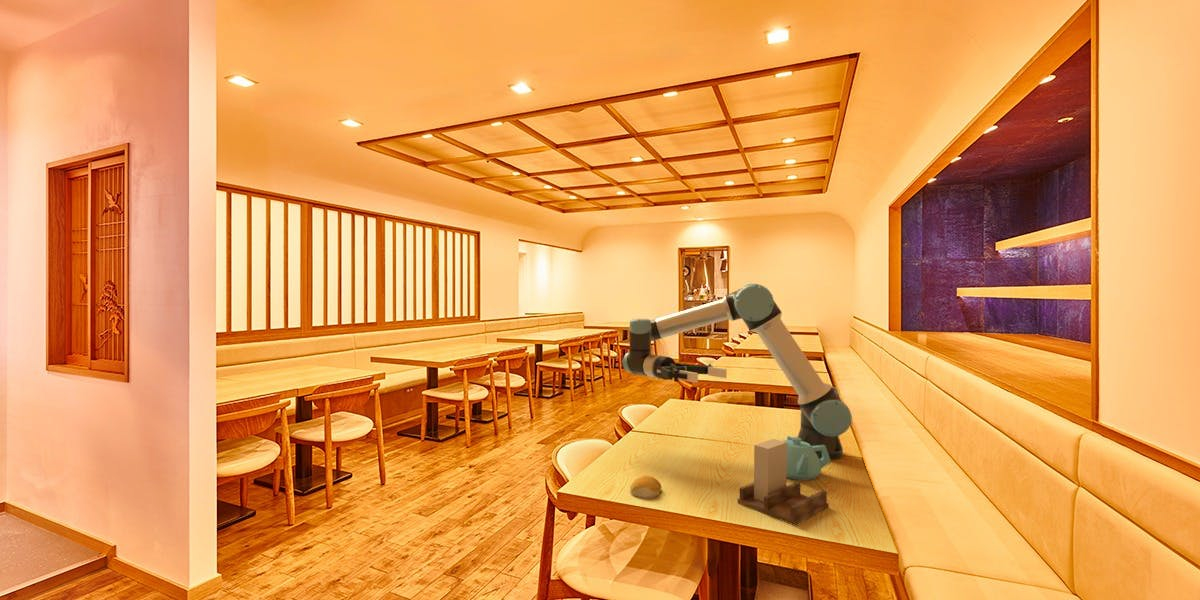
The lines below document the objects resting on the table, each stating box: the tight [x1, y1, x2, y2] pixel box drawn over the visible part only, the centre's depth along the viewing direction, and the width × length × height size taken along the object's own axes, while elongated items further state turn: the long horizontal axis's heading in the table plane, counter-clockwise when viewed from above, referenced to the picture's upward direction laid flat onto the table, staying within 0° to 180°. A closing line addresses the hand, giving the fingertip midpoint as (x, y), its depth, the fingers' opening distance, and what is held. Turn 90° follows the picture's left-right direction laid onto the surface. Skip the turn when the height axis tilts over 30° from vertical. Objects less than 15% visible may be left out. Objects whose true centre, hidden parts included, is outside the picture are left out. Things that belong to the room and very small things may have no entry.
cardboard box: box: [753, 438, 787, 502], centre depth 126 cm, size 9×4×14 cm, turn 129°
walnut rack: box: [737, 481, 829, 526], centre depth 124 cm, size 16×16×4 cm
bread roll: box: [629, 475, 662, 499], centre depth 132 cm, size 8×9×4 cm
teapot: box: [783, 435, 832, 481], centre depth 146 cm, size 15×15×11 cm
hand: (711, 375), depth 143 cm, fingers open, 13 cm apart
